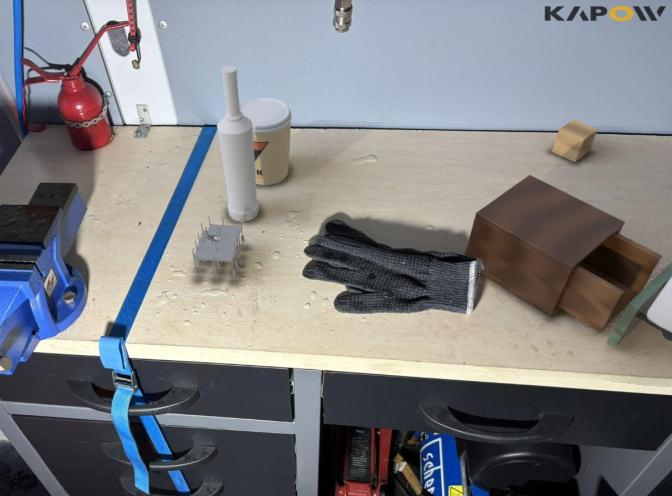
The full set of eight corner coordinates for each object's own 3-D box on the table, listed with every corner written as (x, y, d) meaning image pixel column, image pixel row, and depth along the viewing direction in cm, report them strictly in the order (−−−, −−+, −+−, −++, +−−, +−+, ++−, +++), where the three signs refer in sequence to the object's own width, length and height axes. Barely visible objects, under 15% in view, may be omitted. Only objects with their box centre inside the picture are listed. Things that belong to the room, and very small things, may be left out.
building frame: (195, 280, 90) (189, 251, 86) (206, 244, 95) (201, 214, 91) (236, 283, 89) (233, 253, 85) (245, 246, 95) (242, 217, 90)
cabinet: (599, 272, 87) (625, 221, 80) (549, 317, 82) (572, 267, 75) (513, 224, 95) (529, 174, 88) (462, 262, 90) (475, 212, 83)
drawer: (695, 323, 79) (725, 282, 73) (651, 370, 75) (680, 331, 69) (568, 253, 89) (586, 212, 83) (523, 291, 84) (538, 250, 79)
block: (565, 141, 109) (574, 119, 106) (589, 152, 107) (598, 129, 104) (551, 151, 108) (559, 129, 104) (574, 162, 105) (583, 139, 102)
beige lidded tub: (230, 171, 108) (223, 110, 99) (270, 150, 112) (267, 90, 103) (262, 195, 103) (257, 133, 94) (303, 173, 107) (303, 112, 98)
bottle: (258, 222, 98) (246, 77, 80) (227, 223, 99) (208, 79, 80) (259, 202, 102) (248, 59, 83) (229, 203, 102) (211, 60, 84)
